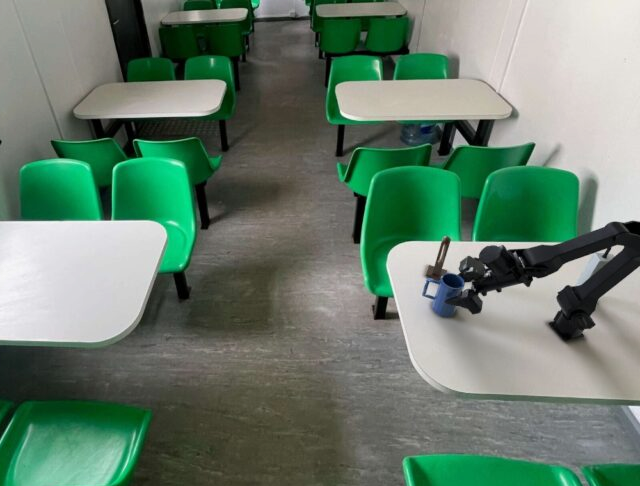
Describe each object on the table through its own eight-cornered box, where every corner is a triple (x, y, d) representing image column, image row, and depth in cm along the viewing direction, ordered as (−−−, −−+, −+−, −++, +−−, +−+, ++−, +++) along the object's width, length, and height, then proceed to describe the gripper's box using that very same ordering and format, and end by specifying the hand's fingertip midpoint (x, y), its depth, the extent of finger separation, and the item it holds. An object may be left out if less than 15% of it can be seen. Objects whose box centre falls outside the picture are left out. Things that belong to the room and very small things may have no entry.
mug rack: (446, 272, 144) (458, 234, 134) (439, 299, 134) (452, 260, 124) (428, 266, 146) (439, 229, 136) (420, 293, 136) (431, 254, 126)
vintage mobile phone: (593, 301, 131) (633, 240, 116) (575, 299, 132) (612, 238, 117) (588, 293, 134) (626, 232, 119) (571, 291, 135) (606, 230, 120)
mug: (455, 305, 132) (466, 277, 125) (452, 320, 127) (463, 291, 120) (422, 294, 136) (430, 266, 129) (418, 308, 132) (426, 280, 124)
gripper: (486, 236, 121) (437, 253, 132) (479, 278, 108) (426, 292, 119) (508, 264, 123) (458, 279, 134) (504, 309, 110) (448, 321, 120)
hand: (447, 291), depth 127 cm, fingers open, 9 cm apart
